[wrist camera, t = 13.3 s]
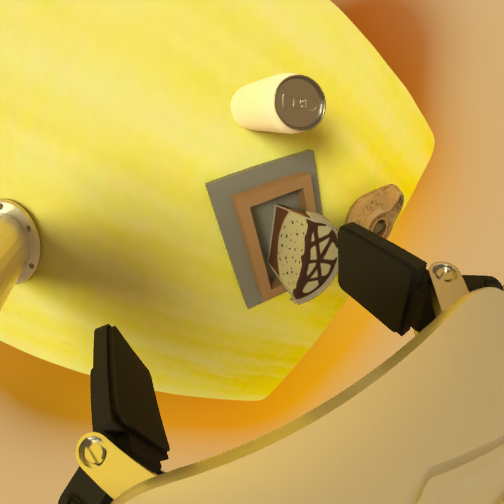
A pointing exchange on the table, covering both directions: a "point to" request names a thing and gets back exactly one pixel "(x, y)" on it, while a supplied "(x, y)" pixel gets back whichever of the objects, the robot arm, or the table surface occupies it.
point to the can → (279, 104)
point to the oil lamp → (377, 210)
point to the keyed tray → (261, 216)
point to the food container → (303, 252)
